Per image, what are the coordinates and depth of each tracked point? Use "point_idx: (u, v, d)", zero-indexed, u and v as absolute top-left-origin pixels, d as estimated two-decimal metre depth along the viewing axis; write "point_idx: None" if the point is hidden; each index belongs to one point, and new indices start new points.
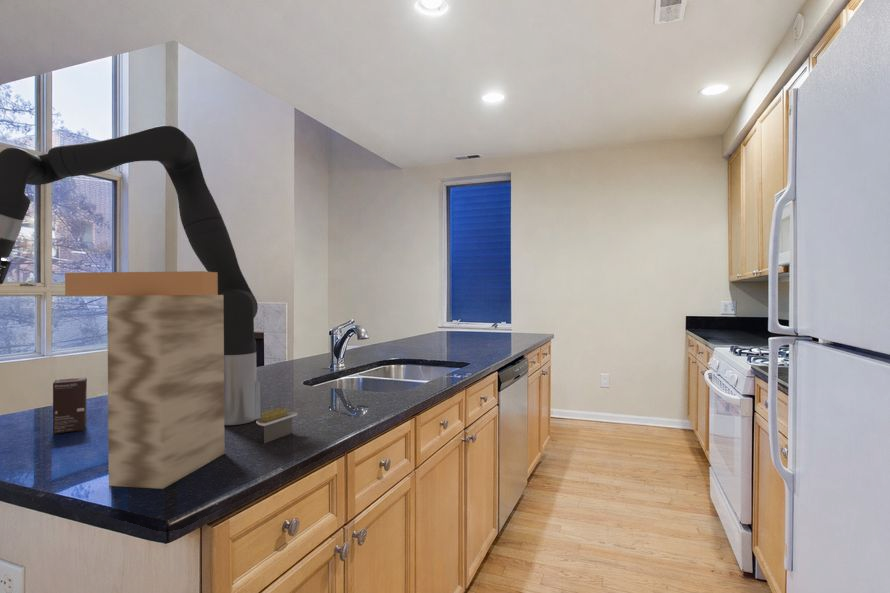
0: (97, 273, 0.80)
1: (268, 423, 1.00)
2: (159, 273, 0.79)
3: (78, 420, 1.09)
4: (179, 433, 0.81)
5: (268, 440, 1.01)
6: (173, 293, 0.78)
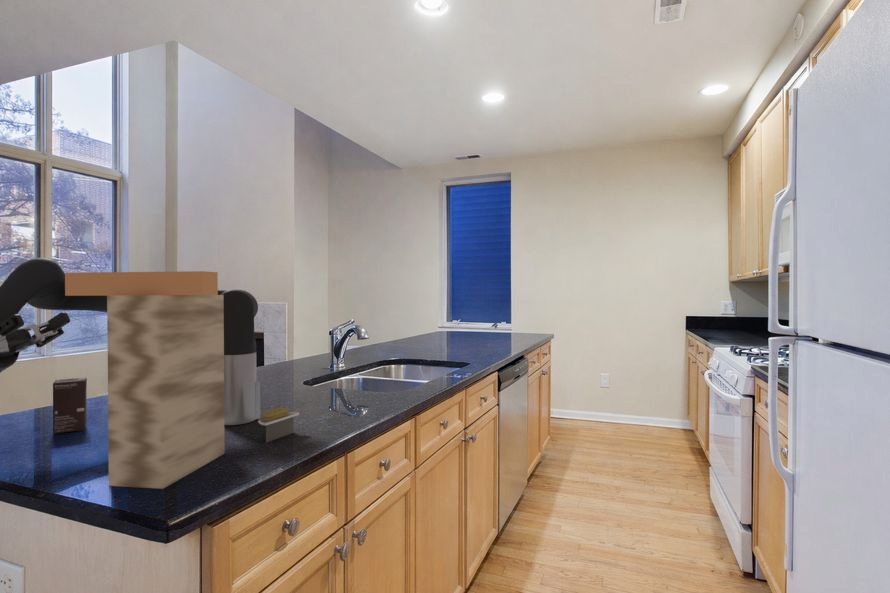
0: (97, 273, 0.80)
1: (270, 422, 1.00)
2: (159, 273, 0.79)
3: (78, 420, 1.09)
4: (179, 433, 0.81)
5: (270, 439, 1.01)
6: (173, 293, 0.78)
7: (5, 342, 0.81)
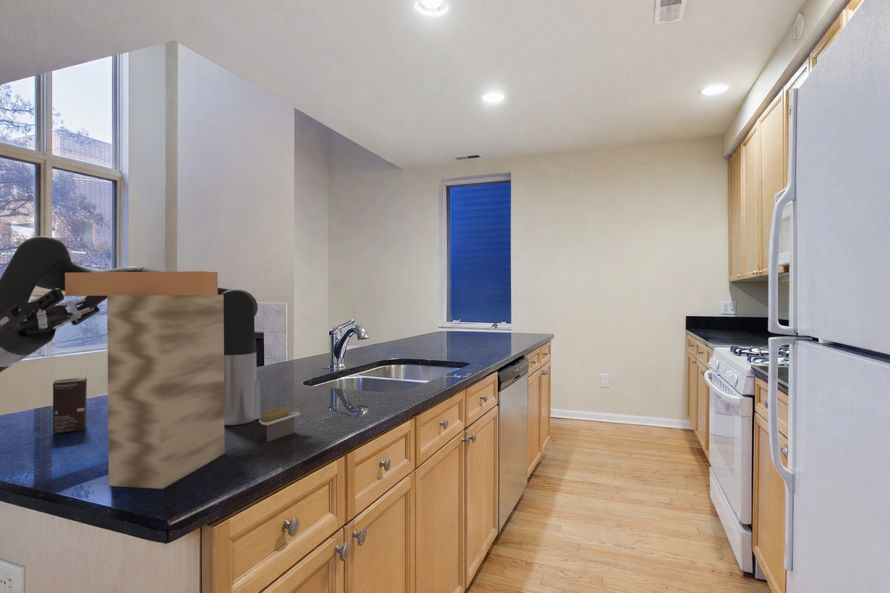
0: (97, 273, 0.80)
1: (270, 422, 1.00)
2: (159, 273, 0.79)
3: (78, 420, 1.09)
4: (179, 433, 0.81)
5: (271, 439, 1.02)
6: (173, 293, 0.78)
7: (44, 317, 0.80)
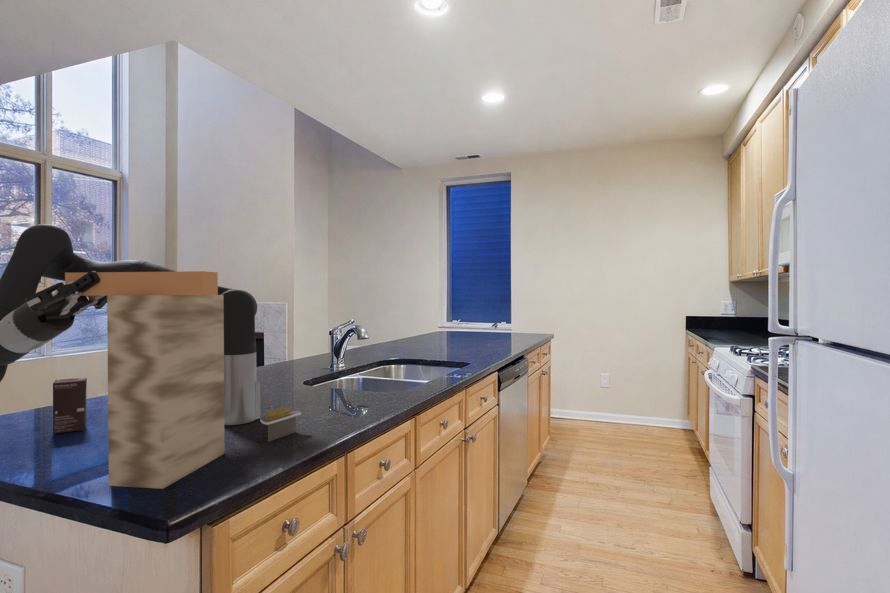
0: (97, 273, 0.80)
1: (272, 422, 1.01)
2: (159, 273, 0.79)
3: (78, 420, 1.09)
4: (179, 433, 0.81)
5: (272, 439, 1.02)
6: (173, 293, 0.78)
7: (75, 301, 0.81)
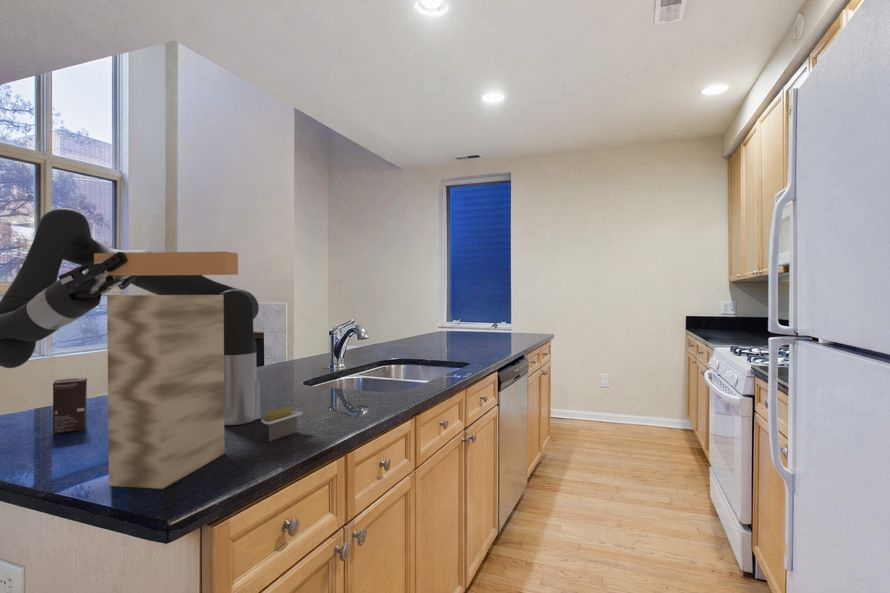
0: (125, 253, 0.86)
1: (272, 421, 1.01)
2: (184, 253, 0.84)
3: (78, 420, 1.09)
4: (179, 433, 0.81)
5: (273, 438, 1.02)
6: (197, 272, 0.84)
7: (104, 280, 0.86)
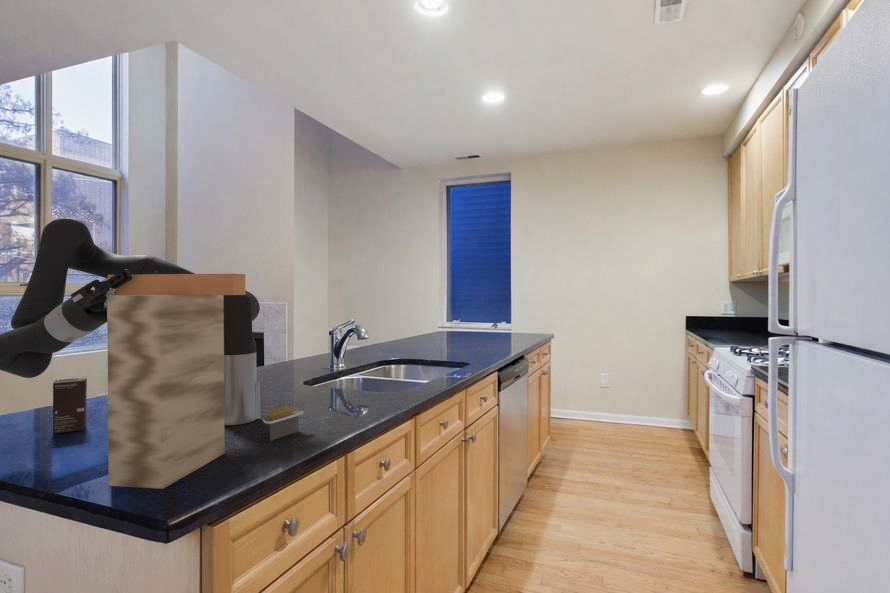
0: (137, 275, 0.89)
1: (273, 421, 1.01)
2: (194, 275, 0.88)
3: (78, 420, 1.09)
4: (179, 433, 0.81)
5: (274, 438, 1.02)
6: (206, 293, 0.87)
7: None
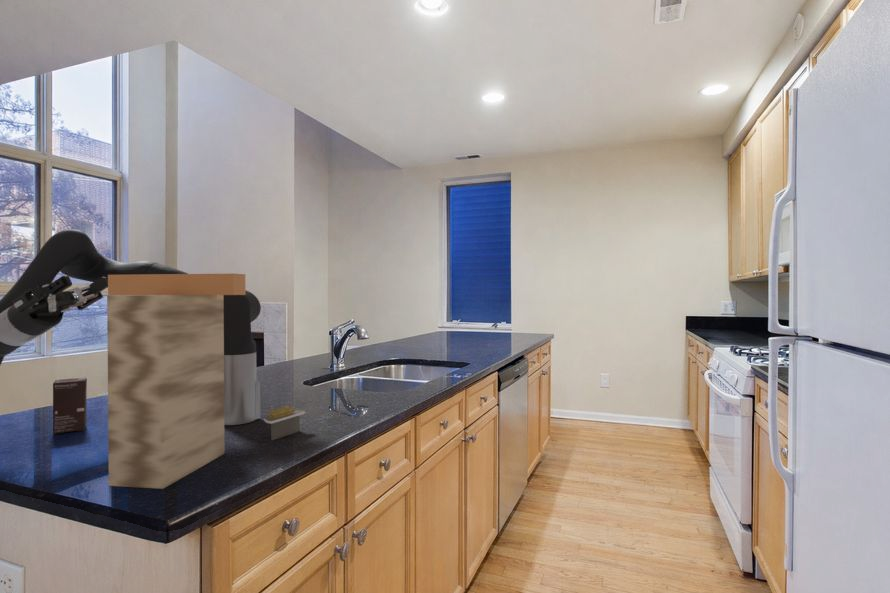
0: (137, 275, 0.89)
1: (275, 421, 1.01)
2: (194, 275, 0.88)
3: (78, 420, 1.09)
4: (179, 433, 0.81)
5: (275, 437, 1.03)
6: (206, 293, 0.87)
7: (54, 301, 0.90)
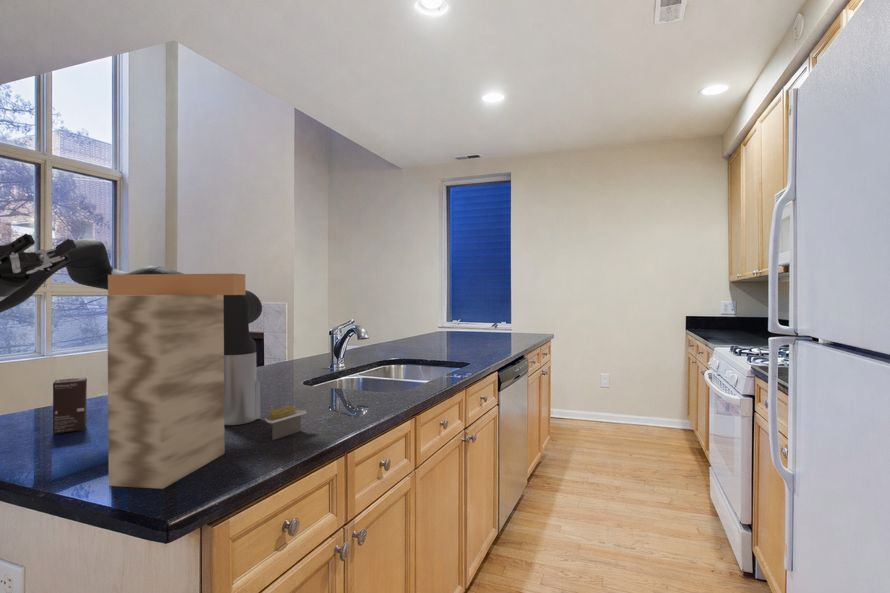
0: (137, 275, 0.89)
1: (276, 420, 1.02)
2: (194, 275, 0.88)
3: (78, 420, 1.09)
4: (179, 433, 0.81)
5: (276, 437, 1.03)
6: (206, 293, 0.87)
7: (17, 260, 0.89)
